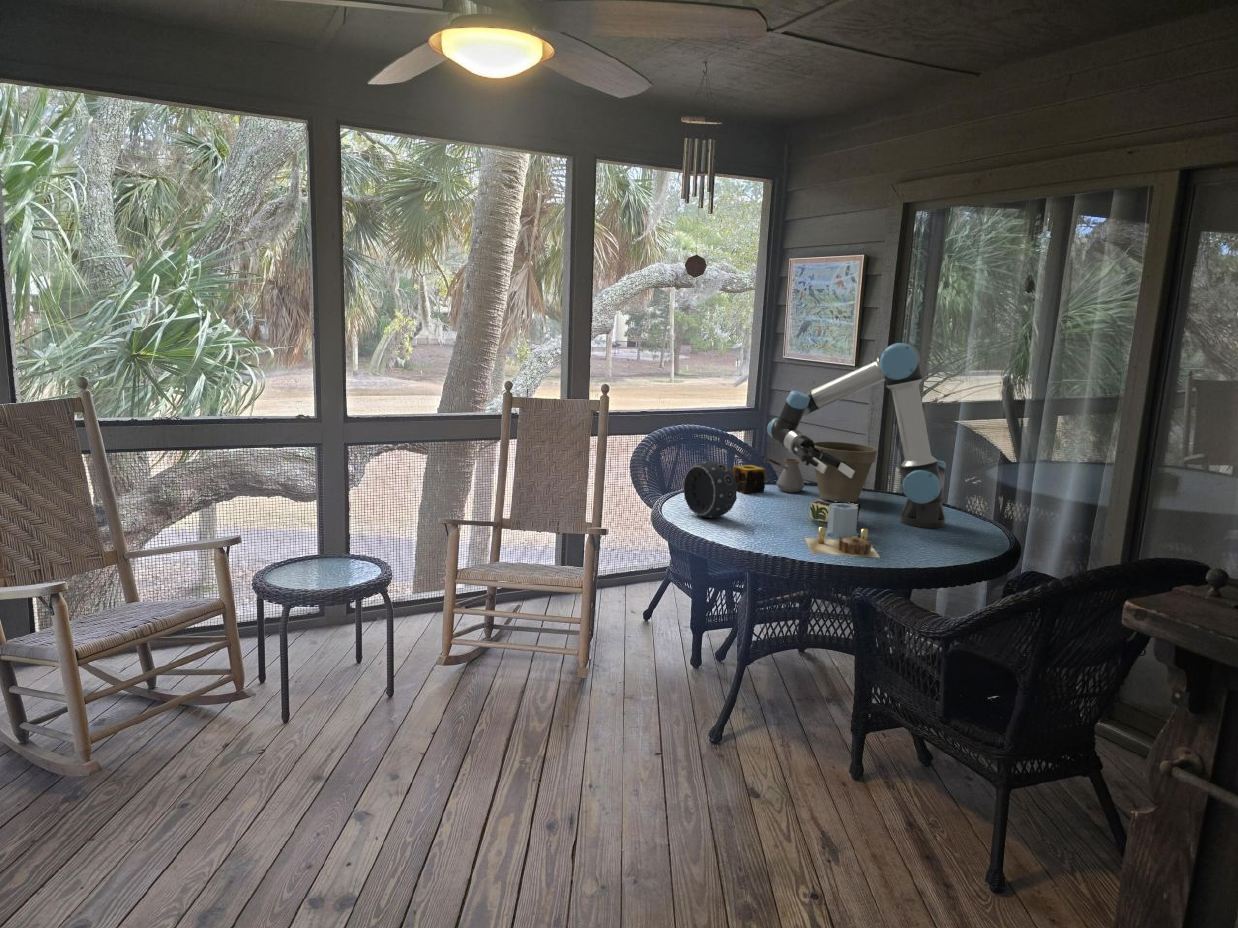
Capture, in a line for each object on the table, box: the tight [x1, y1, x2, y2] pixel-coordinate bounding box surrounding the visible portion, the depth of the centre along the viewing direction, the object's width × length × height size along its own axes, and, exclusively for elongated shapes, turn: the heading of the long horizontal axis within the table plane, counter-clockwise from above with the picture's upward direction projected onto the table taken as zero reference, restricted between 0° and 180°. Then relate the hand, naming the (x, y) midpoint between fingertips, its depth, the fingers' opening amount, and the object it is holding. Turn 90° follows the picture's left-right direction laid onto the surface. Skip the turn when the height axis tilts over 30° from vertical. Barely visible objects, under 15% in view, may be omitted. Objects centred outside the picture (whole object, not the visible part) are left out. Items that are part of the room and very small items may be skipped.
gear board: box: [804, 537, 881, 559], centre depth 246 cm, size 20×17×2 cm
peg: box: [817, 526, 826, 544], centre depth 250 cm, size 2×2×5 cm
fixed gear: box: [838, 536, 872, 555], centre depth 243 cm, size 9×9×4 cm
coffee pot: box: [763, 457, 805, 493], centre depth 329 cm, size 21×12×15 cm, turn 125°
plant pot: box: [813, 441, 878, 503], centre depth 318 cm, size 25×25×22 cm
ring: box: [682, 460, 738, 519], centre depth 283 cm, size 11×20×20 cm, turn 33°
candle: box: [732, 464, 767, 495], centre depth 329 cm, size 10×10×10 cm
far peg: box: [859, 527, 869, 540], centre depth 249 cm, size 2×2×5 cm
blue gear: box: [825, 502, 859, 539], centre depth 260 cm, size 10×10×11 cm
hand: (839, 472), depth 266 cm, fingers open, 13 cm apart
